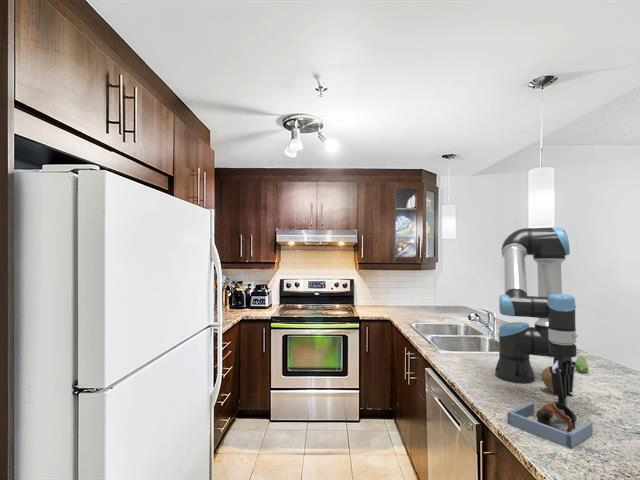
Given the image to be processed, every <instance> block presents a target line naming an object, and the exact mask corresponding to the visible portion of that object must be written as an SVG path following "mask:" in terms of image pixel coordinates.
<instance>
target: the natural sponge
mask: <svg viewBox="0 0 640 480" xmlns="http://www.w3.org/2000/svg"><path fill="white" fill-rule="evenodd" d="M551 366H552V367H553V366H554V365H551ZM549 367H550V366H548V367H546V368H544V369H543V370H542V372H541V375H540V377H541V380H542V382H543V384H544V386H545V387H546V388H547V390H548V391H550V392H551V393H552V394H554V390H553V383H552V376H551V372H550V369H549Z"/></svg>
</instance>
